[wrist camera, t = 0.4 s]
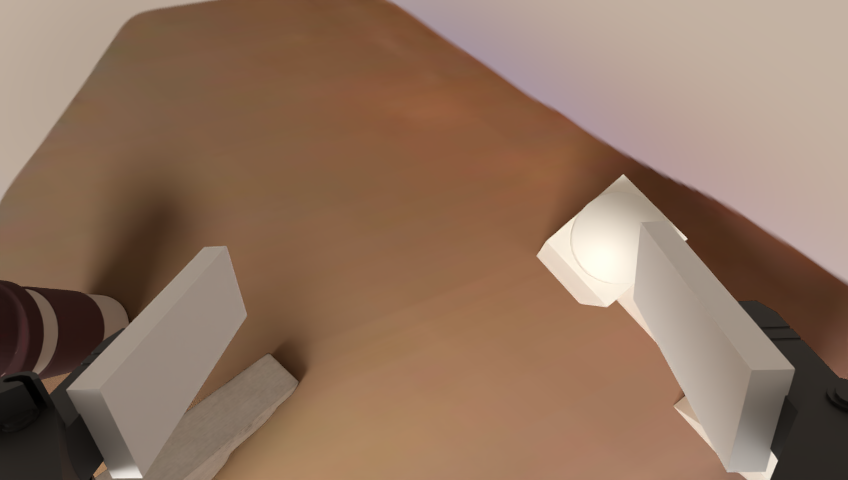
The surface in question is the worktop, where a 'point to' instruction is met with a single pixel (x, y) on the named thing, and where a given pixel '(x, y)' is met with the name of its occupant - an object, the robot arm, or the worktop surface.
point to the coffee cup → (52, 328)
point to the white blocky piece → (613, 264)
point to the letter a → (220, 423)
